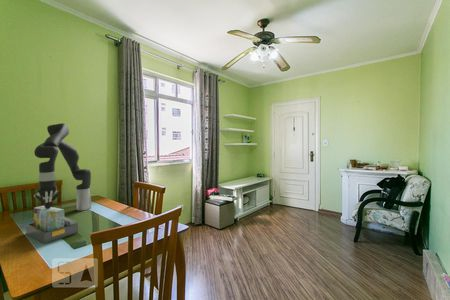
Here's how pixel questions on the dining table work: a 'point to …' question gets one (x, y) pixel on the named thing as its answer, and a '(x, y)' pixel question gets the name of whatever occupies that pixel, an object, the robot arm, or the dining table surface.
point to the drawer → (43, 237)
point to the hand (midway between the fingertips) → (47, 208)
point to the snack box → (48, 218)
